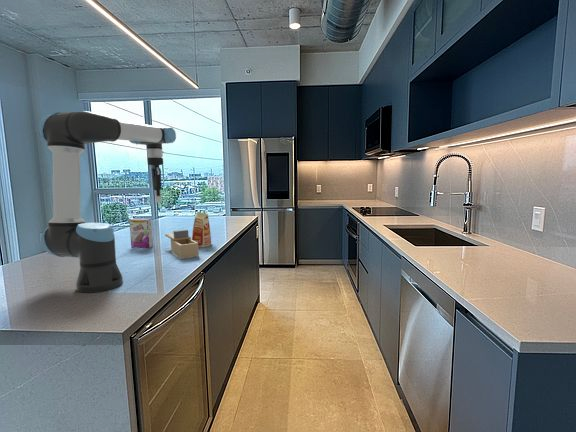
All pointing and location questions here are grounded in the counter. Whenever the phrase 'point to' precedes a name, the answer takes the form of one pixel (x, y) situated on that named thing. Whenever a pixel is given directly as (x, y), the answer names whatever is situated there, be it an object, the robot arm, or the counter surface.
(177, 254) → the mailer box
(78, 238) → the robot arm
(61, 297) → the counter surface
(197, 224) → the milk carton
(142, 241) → the candy bar box
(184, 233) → the mailer lid
